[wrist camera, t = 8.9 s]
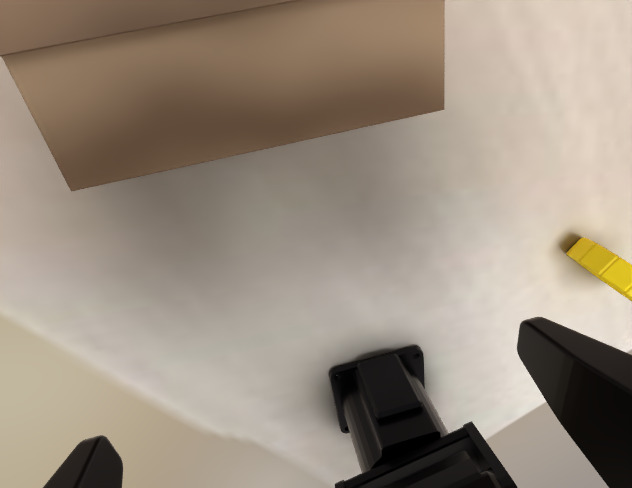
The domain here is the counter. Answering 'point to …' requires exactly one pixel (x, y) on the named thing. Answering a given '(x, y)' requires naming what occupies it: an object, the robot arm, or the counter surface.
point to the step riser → (214, 75)
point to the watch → (603, 265)
